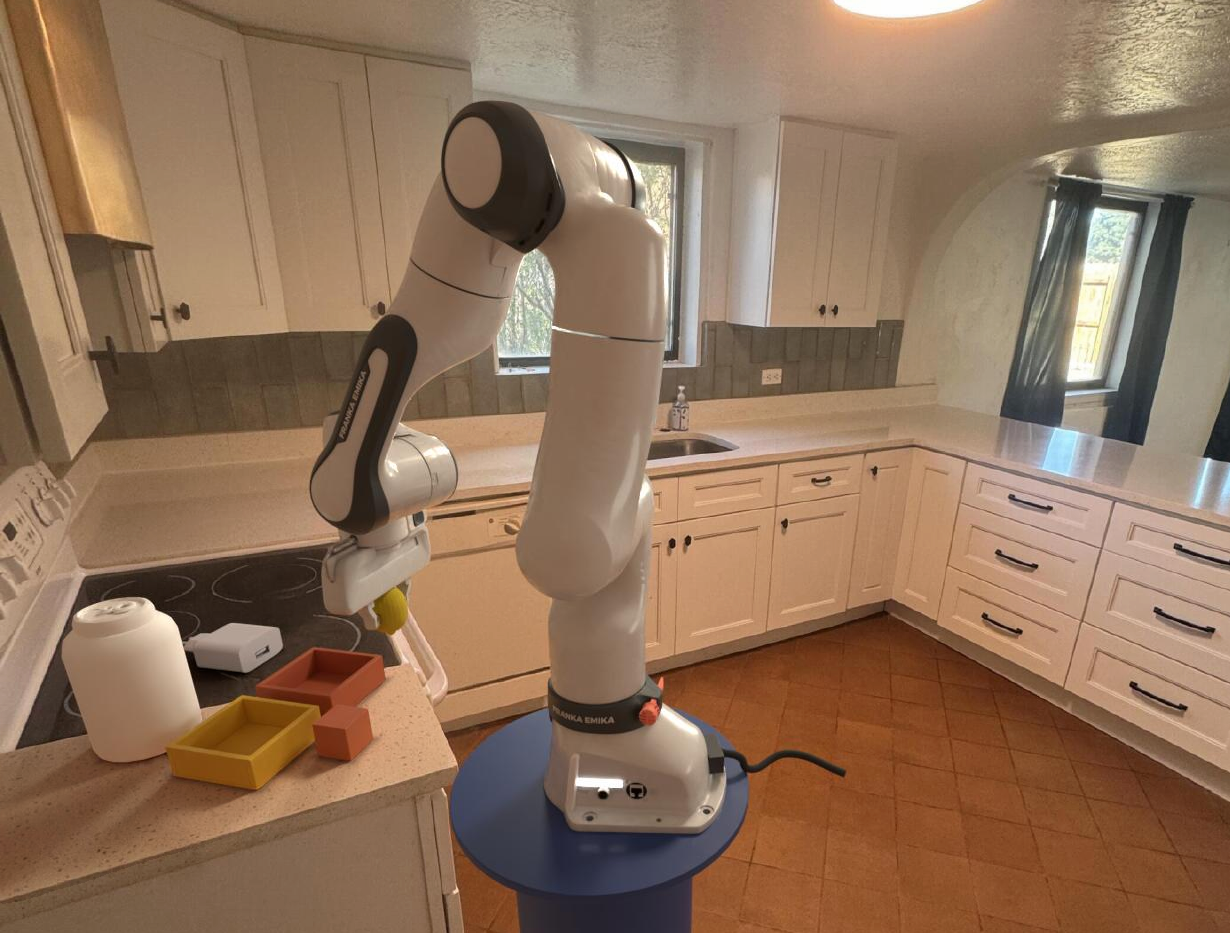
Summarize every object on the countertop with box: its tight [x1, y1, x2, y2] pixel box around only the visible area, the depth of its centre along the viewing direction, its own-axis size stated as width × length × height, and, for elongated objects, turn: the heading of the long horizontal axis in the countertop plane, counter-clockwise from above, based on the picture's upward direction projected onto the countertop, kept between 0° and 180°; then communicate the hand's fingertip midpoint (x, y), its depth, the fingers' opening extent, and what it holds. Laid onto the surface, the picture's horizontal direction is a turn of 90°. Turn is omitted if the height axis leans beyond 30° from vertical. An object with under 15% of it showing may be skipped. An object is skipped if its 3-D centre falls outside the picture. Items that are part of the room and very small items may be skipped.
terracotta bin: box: [254, 646, 387, 717], centre depth 107 cm, size 13×13×4 cm
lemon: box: [372, 586, 409, 636], centre depth 99 cm, size 6×6×8 cm
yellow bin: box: [165, 694, 321, 791], centre depth 93 cm, size 13×13×4 cm
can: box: [61, 596, 204, 763], centre depth 93 cm, size 12×12×20 cm
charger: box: [182, 622, 284, 674], centre depth 118 cm, size 5×9×15 cm
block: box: [312, 705, 374, 762], centre depth 94 cm, size 5×5×5 cm
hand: (388, 617), depth 100 cm, fingers closed on lemon, 5 cm apart
